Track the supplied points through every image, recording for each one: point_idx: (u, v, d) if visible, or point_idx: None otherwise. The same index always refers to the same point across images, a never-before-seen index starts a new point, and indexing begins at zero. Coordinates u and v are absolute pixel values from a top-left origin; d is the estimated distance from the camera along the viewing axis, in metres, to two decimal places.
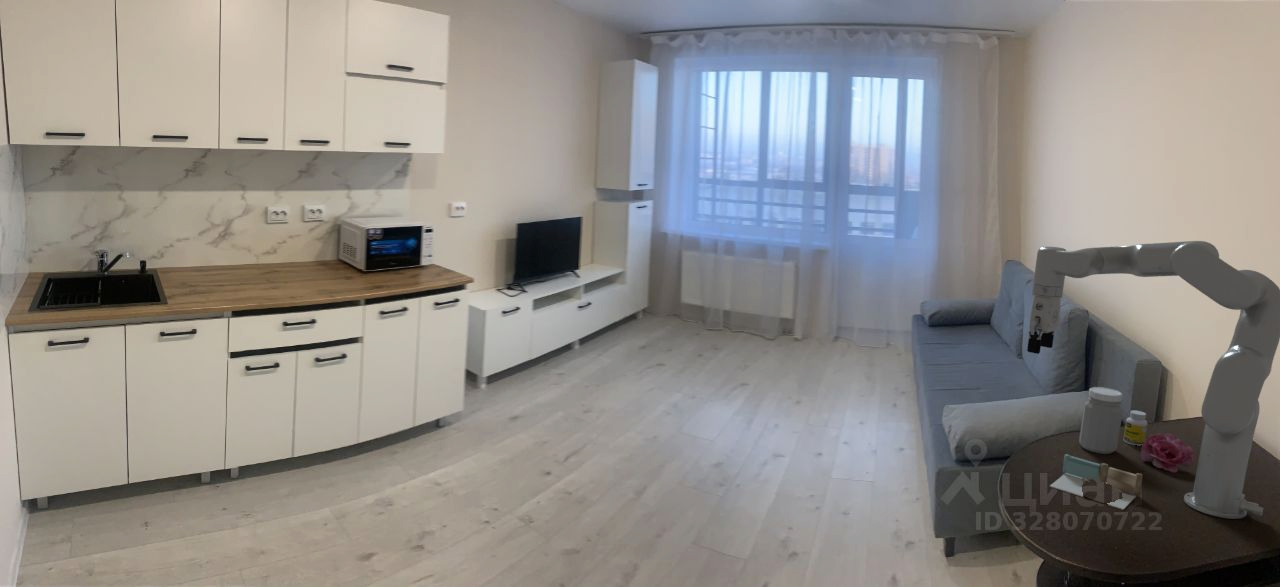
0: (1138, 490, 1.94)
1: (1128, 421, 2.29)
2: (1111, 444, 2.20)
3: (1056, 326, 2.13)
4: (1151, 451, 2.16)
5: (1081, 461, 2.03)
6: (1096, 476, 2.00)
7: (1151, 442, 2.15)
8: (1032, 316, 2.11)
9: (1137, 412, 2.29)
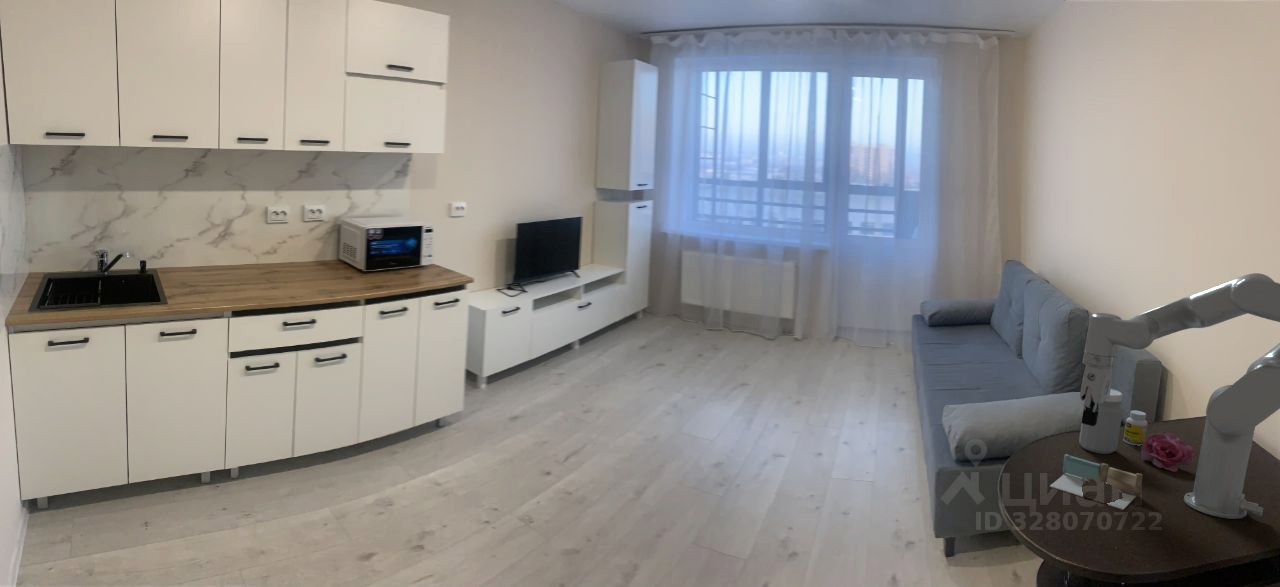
0: (1138, 490, 1.94)
1: (1128, 421, 2.29)
2: (1111, 444, 2.20)
3: (1107, 396, 2.03)
4: (1151, 450, 2.16)
5: (1081, 461, 2.03)
6: (1096, 476, 2.00)
7: (1151, 441, 2.15)
8: (1083, 386, 2.01)
9: (1137, 412, 2.29)
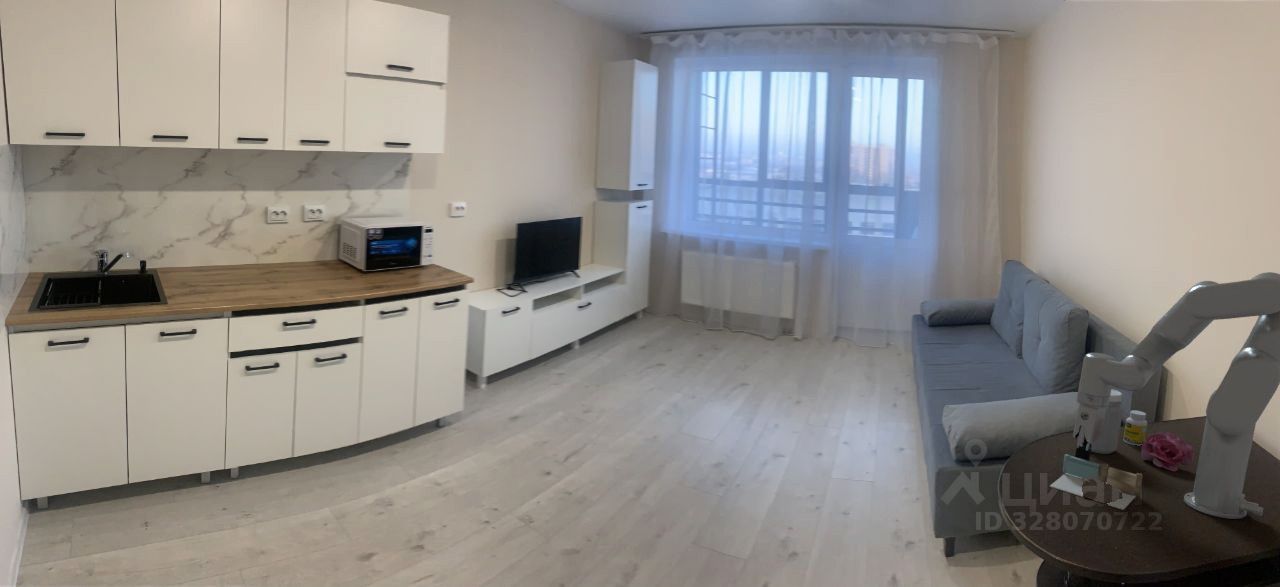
0: (1138, 490, 1.94)
1: (1128, 421, 2.29)
2: (1111, 444, 2.20)
3: (1100, 434, 2.06)
4: (1151, 450, 2.17)
5: (1081, 461, 2.03)
6: (1096, 476, 2.00)
7: (1151, 441, 2.16)
8: (1076, 425, 2.03)
9: (1137, 412, 2.29)
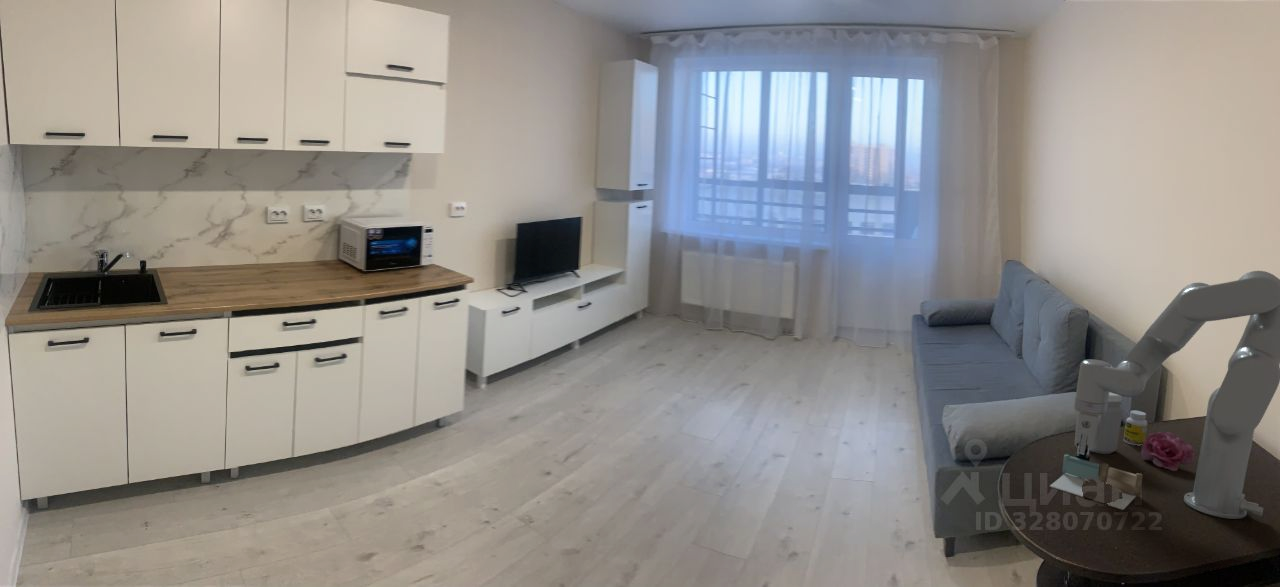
0: (1138, 490, 1.94)
1: (1128, 421, 2.29)
2: (1111, 444, 2.20)
3: None
4: (1151, 450, 2.17)
5: (1081, 461, 2.02)
6: (1096, 476, 2.00)
7: (1151, 441, 2.16)
8: (1078, 434, 2.01)
9: (1137, 412, 2.29)
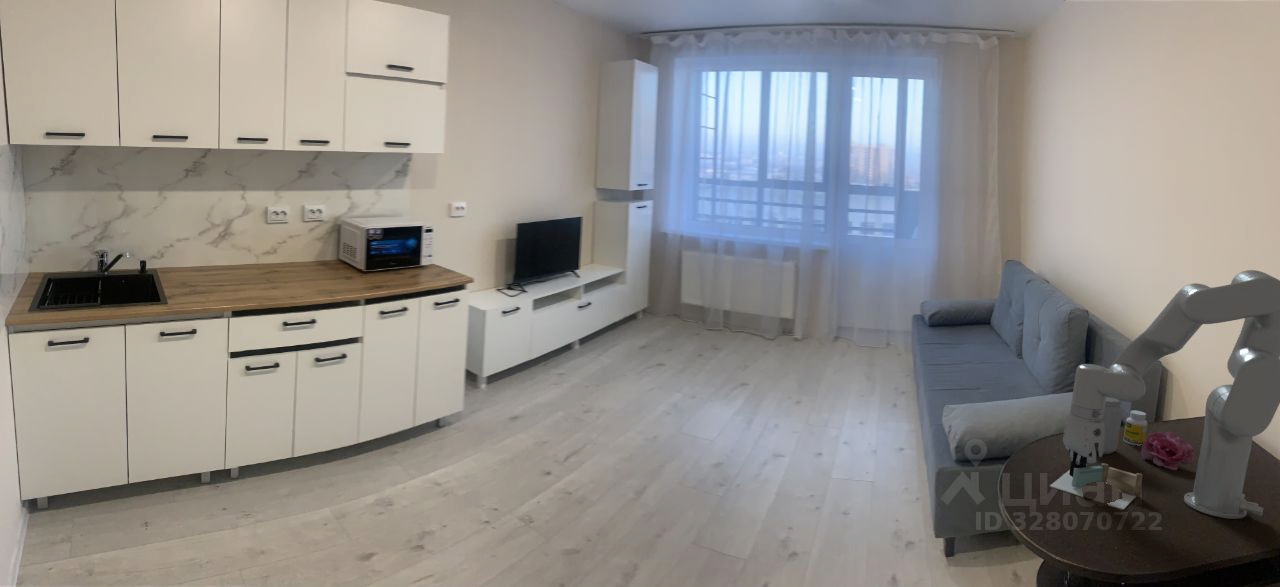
0: (1138, 490, 1.94)
1: (1128, 421, 2.29)
2: (1111, 444, 2.20)
3: None
4: (1151, 449, 2.17)
5: (1090, 470, 1.97)
6: (1100, 479, 1.99)
7: (1151, 440, 2.16)
8: (1090, 443, 1.94)
9: (1137, 412, 2.29)
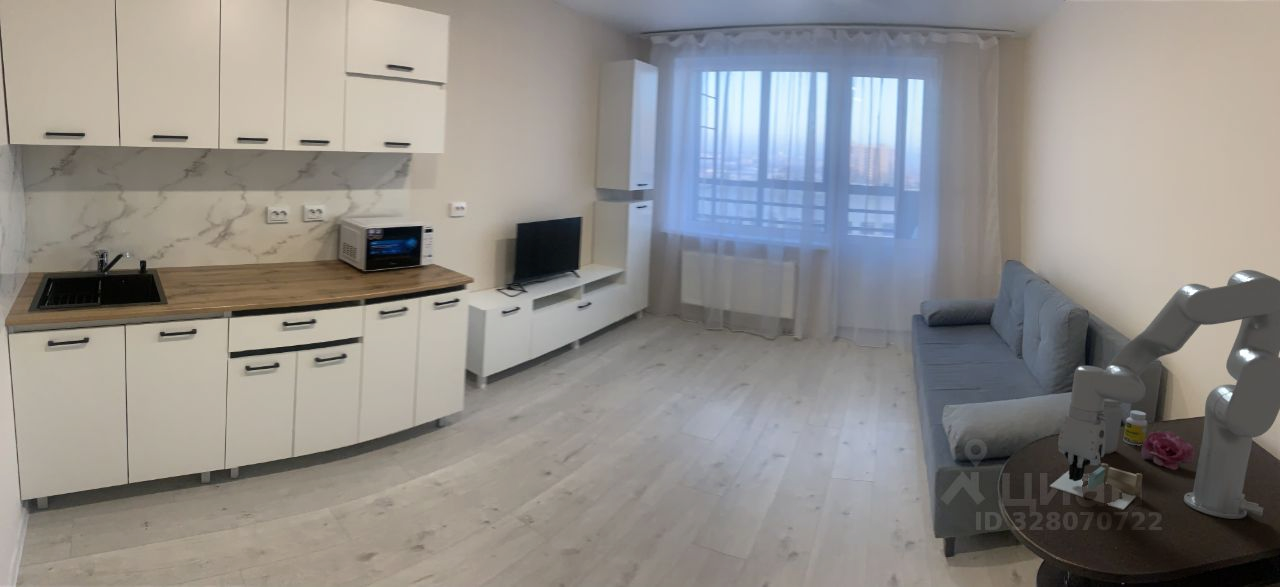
0: (1138, 490, 1.94)
1: (1128, 421, 2.29)
2: (1111, 444, 2.20)
3: None
4: (1151, 449, 2.18)
5: (1099, 473, 1.95)
6: (1103, 479, 1.98)
7: (1151, 440, 2.17)
8: (1096, 446, 1.92)
9: (1137, 412, 2.29)
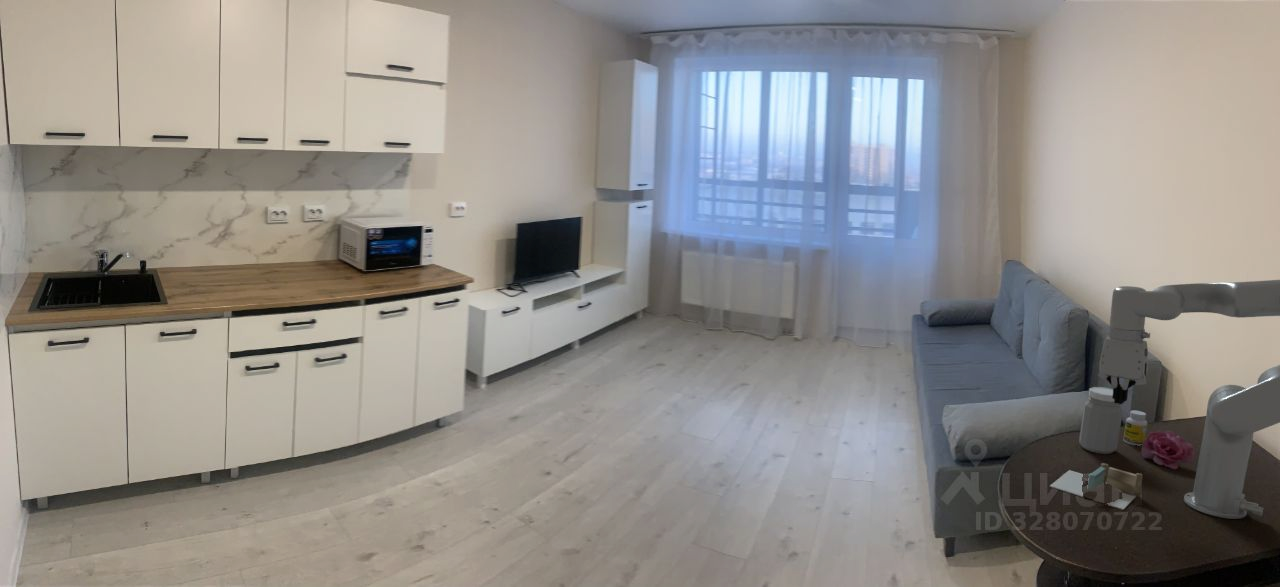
0: (1138, 490, 1.94)
1: (1128, 421, 2.29)
2: (1111, 444, 2.20)
3: None
4: (1152, 448, 2.18)
5: (1099, 473, 1.95)
6: (1103, 479, 1.98)
7: (1152, 439, 2.17)
8: (1143, 364, 1.92)
9: (1137, 412, 2.29)
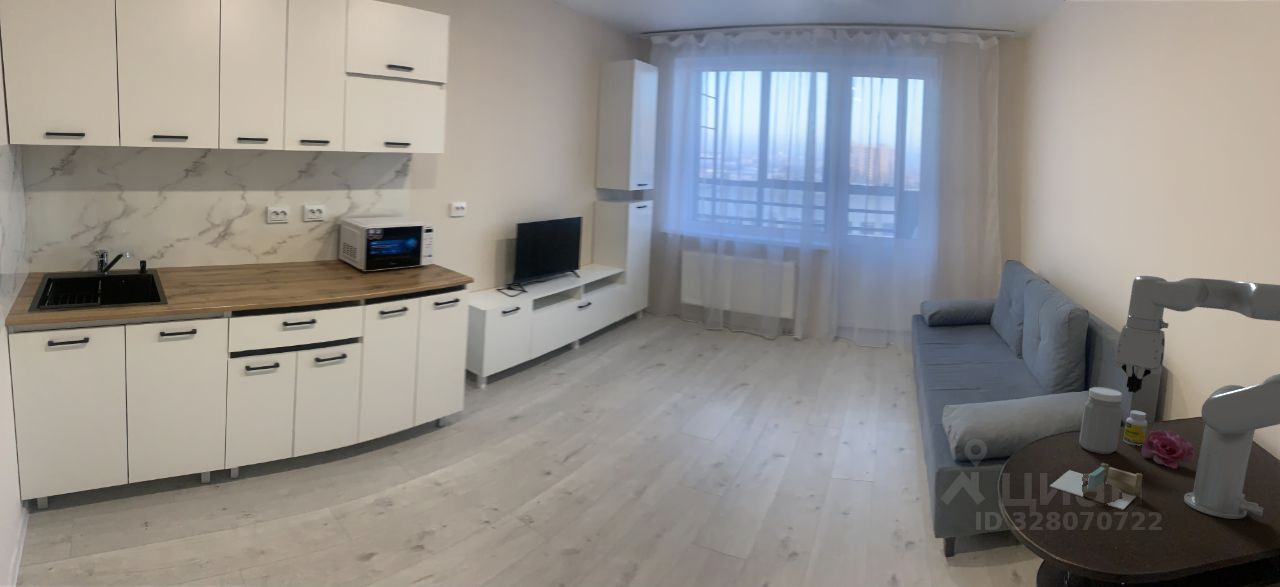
0: (1138, 490, 1.94)
1: (1128, 421, 2.29)
2: (1111, 444, 2.20)
3: None
4: (1152, 447, 2.19)
5: (1099, 473, 1.95)
6: (1103, 479, 1.98)
7: (1152, 438, 2.18)
8: (1160, 354, 1.93)
9: (1137, 412, 2.29)
